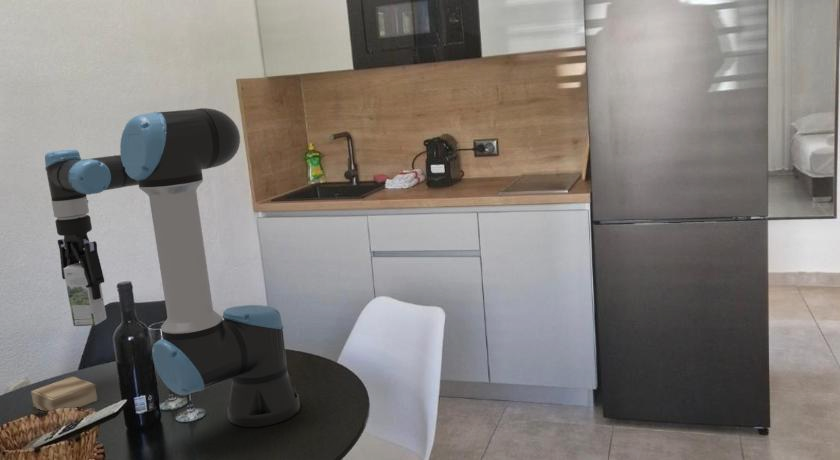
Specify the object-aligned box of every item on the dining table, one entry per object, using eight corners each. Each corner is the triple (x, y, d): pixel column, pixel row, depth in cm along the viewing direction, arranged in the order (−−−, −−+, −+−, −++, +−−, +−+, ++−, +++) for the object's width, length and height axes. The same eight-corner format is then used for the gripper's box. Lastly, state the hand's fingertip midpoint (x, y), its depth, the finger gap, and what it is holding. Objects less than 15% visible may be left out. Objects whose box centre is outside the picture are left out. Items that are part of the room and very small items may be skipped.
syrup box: (107, 318, 187) (98, 260, 185) (95, 326, 182) (85, 266, 179) (85, 319, 188) (75, 261, 185) (72, 327, 182) (62, 267, 180)
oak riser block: (97, 400, 178) (94, 383, 177) (55, 416, 170) (52, 399, 170) (75, 392, 184) (72, 375, 183) (33, 407, 176) (30, 390, 176)
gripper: (110, 215, 176) (125, 310, 181) (66, 211, 189) (81, 300, 193) (79, 221, 171) (95, 320, 175) (35, 217, 183) (51, 309, 188)
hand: (88, 309), depth 184 cm, fingers closed on syrup box, 8 cm apart
